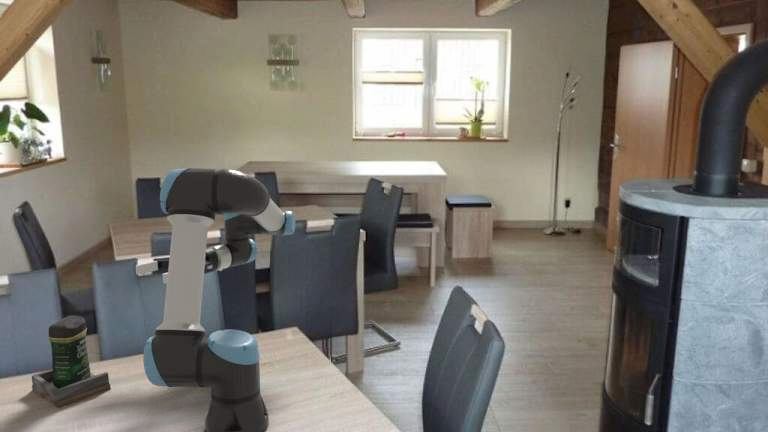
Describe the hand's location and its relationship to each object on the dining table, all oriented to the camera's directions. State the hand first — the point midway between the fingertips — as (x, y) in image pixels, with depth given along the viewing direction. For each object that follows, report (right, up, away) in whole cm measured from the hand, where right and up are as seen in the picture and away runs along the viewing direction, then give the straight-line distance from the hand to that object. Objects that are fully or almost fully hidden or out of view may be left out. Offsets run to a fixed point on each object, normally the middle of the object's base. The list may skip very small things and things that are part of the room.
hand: (149, 274), depth 182 cm
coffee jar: (-19, -30, -5) cm, 36 cm away
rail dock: (-19, -31, -5) cm, 37 cm away
